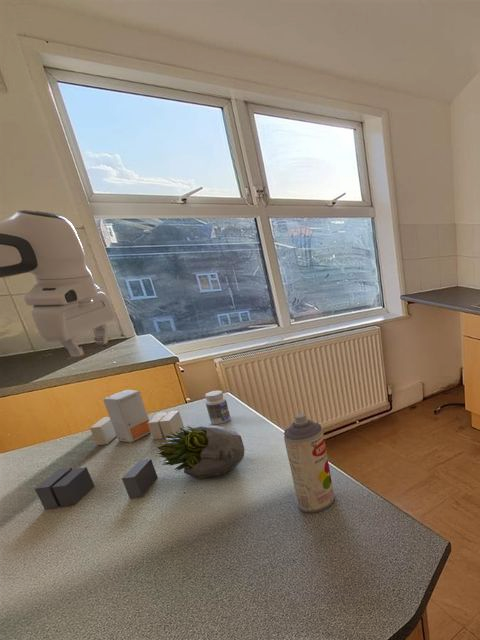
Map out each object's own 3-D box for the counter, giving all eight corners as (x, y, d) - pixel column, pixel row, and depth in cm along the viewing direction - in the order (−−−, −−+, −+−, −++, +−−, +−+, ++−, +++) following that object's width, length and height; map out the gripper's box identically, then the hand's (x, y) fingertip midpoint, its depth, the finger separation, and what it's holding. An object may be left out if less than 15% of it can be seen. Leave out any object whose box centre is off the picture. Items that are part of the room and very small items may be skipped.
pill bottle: (227, 423, 119) (220, 395, 116) (208, 425, 118) (200, 397, 115) (233, 415, 123) (226, 389, 120) (214, 417, 122) (207, 390, 119)
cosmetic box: (132, 442, 109) (116, 400, 104) (117, 441, 109) (101, 398, 105) (154, 431, 114) (140, 390, 110) (140, 430, 115) (125, 389, 110)
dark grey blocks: (44, 509, 85) (34, 488, 83) (67, 488, 91) (58, 468, 89) (142, 497, 89) (134, 476, 87) (158, 477, 95) (151, 458, 93)
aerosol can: (329, 512, 86) (313, 423, 78) (293, 514, 85) (273, 424, 77) (338, 491, 92) (324, 407, 84) (305, 492, 91) (288, 408, 84)
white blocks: (96, 445, 107) (89, 427, 105) (110, 434, 113) (103, 417, 111) (174, 437, 112) (168, 420, 110) (184, 426, 117) (178, 410, 115)
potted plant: (246, 466, 94) (158, 474, 84) (235, 480, 103) (154, 489, 93) (243, 414, 98) (158, 416, 88) (233, 432, 106) (154, 435, 96)
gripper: (81, 282, 103) (100, 338, 109) (16, 299, 85) (43, 364, 90) (112, 282, 105) (130, 336, 110) (56, 298, 87) (79, 362, 92)
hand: (90, 349), depth 100 cm, fingers open, 8 cm apart
